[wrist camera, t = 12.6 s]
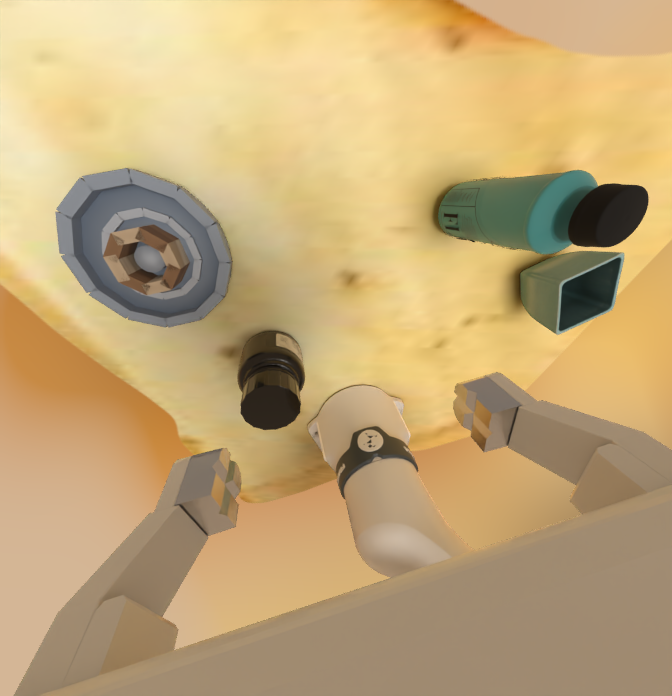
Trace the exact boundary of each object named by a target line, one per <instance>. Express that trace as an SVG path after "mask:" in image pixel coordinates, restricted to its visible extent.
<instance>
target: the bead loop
mask: <svg viewBox="0 0 672 696" xmlns="http://www.w3.org/2000/svg"><path fill="white" fill-rule="evenodd" d="M139 241H141V242H143V243H145V244H147V245H149V246H151V247H152V248H154V249H156V250H158V251H159V252H160V254H161V256H162V258H163V260H164V262H165V264H166V266H167V268H166V270H165V273H164V275H159V276H158V275H156V274H154V273H152V272H147V271H145V270H143V269H142V268H140V267H139V266H138V264H137V263H136V261H135V258H134V253H135V251H136V248H137V245H138V242H139ZM103 258H104V260H105V261H106V263H107V264H108V266H109V268H110V269H111V271H112V272H113V274H114V276H115V277H116V279H117V280H118V282H119V283H121V284H123V285H125V286H127V287H130V288H132V289H134V290H136V291H138V292H141V293H143V294H145V295H151V294H155V293H160V292H164V291H169V290H172V289H173V288H174V287H175V286H177V285H178V284H179V283H180V282H181V281H182V279H183V277H184V275H185V273H186V270H187V268H188V266H189V264H190V261H189V259H188V257H187V255H186V252H185V250H184V248H183V246H182V244H181V242H180V239H179V238H177V237H175V236H173V235H172V234H170V233H168V232H166V231H164V230H163V229H161V228H159V227H157V226H156V225H154V224H152V225H147V226H142V227H137V228H132V229H127V230H122V231H117V232H112V233H110V236H109V239H108V242H107V246H106V249H105V252H104V255H103Z"/></svg>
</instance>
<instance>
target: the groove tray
mask: <svg viewBox="0 0 672 696" xmlns="http://www.w3.org/2000/svg"><path fill="white" fill-rule="evenodd" d="M82 177H83V178H79V179H78V181H77V182H76V183H75V185H74V186H73V187H72V189H71V190H70V191H69V193H68V194H67V195H66V197H65V198H64V199H63V201H62V202H61V203H60V205H59V206H58V207H57V210H58V211H59V212H56V222H57V232H58V242H59V252H60V253H61V254H65V255H63V256H61V257H62V259H63V260H64V261H65V263H66V264H67V266H68V267H69V268H70V270H71V271H72V273H73V274H74V276H75V277H76V278H77V280H78V281H79V283H80V284H81V286H82V287H83V288H84V290H85V291H86V293H88V292H91V293H90V294H89V295H90V296H91V297H93V298H94V299H96V300H98V301H99V302H101V303H102V304H104V305H105V306H107V307H108V308H110V309H112V310H113V311H115V312H116V313H118V314H119V315H121V316H122V317H124V318H127V317H128V320H133V321H138V322H142V323H147V324H152V325H157V326H162V327H167V326H168V327H172V326H177V325H181V324H185V323H190V322H194V321H198V320H201V319H203V318H204V317H205V316H206V315H207V314H208V313H209V312H210V311H211V310H212V309H213V308H214V307H215V306H216V305H217V304H218V303H219V302H220V301H221V300H222V299H223V298H224V297H225V295H226V293H227V289H228V284H229V280H230V276H231V269H232V261H231V260H232V257H231V253H230V248H229V245H228V242H227V239H226V237H225V235H224V232H223V230H222V229H221V227H220V225H219V223H218V222H217V220H216V219H215V218H214V216H213V215H212V214H211V212H210V211H209V210H208V209H207V208H206V207H205V206H204V205H203V204H202V203H201V202H200V201H199V200H198V199H197V198H195V197H194V196H193V195H191V194H190V193H189V192H188V191H187V190H186V189H185V188H182V187H181V186H179V185H176V184H173V183H171V182H169V181H166V180H164V179H161V178H158V177H155V176H152V175H149V174H146V173H143V172H141V171H138V170H134V169H128V168H125V169H119V170H114V171H108V172H103V173H97V174H92V175H86V176H82ZM152 224H154V225H156V226H157V227H159V228H161V229H163V230H164V231H166V232H168V233H170V234H172V235H173V236H175V237H177V238H179V239H180V242H181V244H182V246H183V248H184V250H185V252H186V255H187V257H188V259H189V261H190V264H189V266H188V268H187V270H186V273H185V275H184V277H183V279H182V281H181V282H180V283H179V284H178V285H177V286H175V287H174V288H173V289H172V290H169V291H164V292H160V293H155V294H151V295H145V294H143V293H141V292H138V291H136V290H134V289H132V288H130V287H127V286H125V285H123V284H121V283H119V282H118V280H117V279H116V277H115V276H114V274H113V272H112V271H111V269H110V268H109V266H108V264H107V263H106V261H105V260H104V258H103V255H104V252H105V249H106V246H107V242H108V239H109V236H110V233H112V232H117V231H122V230H127V229H132V228H137V227H142V226H147V225H152ZM134 258H135V261H136V263H137V264H138V266H139V267H140V268H142V269H143V270H145V271H147V272H152V273H154V274H156V275H158V276H159V275H164V273H165V270H166V268H167V266H166V264H165V262H164V260H163V258H162V256H161V254H160V252H159V251H158V250H156V249H154V248H152V247H151V246H149V245H147V244H145V243H143V242H141V241H139V242H138V245H137V248H136V251H135V253H134Z"/></svg>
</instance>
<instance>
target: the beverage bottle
mask: <svg viewBox="0 0 672 696" xmlns="http://www.w3.org/2000/svg"><path fill="white" fill-rule="evenodd" d="M502 177H503V176H502ZM512 177H513V176H512ZM495 178H496V179H493V178H492V179H489V180H487V179H486V178H485V179H486V180H485V179H482V180H481V181H478V180H477V179H476V181H474V180H473V181H471V182H463V183H460V184H458V185H456V186H455V187H453V188H452V189H451V190H450V191H449V192H448V193H447V194H446V195H445V197H444V198H443V200H442V202H441V205H440V208H439V213H438V220H439V224H440V227H441V228H442V230H443V231H444V233H445V234H446V233H447V234H448V235H449V237H450V236H454V237H456V238H457V237H459V238H457V239H462V240H467V239H468V240H470V241H472V242H475V241H479V242H484V244H486V243H489V244H492V245H493V244H495V245H498V246H499V245H500V246H501V247H502V246H505V247H510V248H509V249H511V248H512V250H513V248H516V249H522V250H528V251H533V252H536V253H539V254H552V253H556V252H559V251H561V250H563V249H565V248H566V247H568V246H570V245H571V244H572V243H573V244H574V245H577V246H583V247H590V246H592V247H611V246H614V245H617V244H619V243H620V242H622V241H623V240H625V239H626V238H627V237H628V236H630V235H631V234H632V233H633V232H634V230H635V229H636V228H637V227H638V225H639V224H640V222H641V221H642V219H643V217H644V215H645V213H646V210H647V206H648V193H647V191H646V189H645V188H643V187H642V186H638V185H621V184H604V185H600V186H598V185H597V182H596V180H595V179H594V177H593V176H592V175H591V174H589V173H587V172H586V171H582V170H574V171H568V172H565V173H555V174H545V175H536V176H526V177H516V178H505V177H504V178H500V177H499V178H500V179H497V177H495ZM466 181H467V180H466ZM447 234H446V235H447ZM463 238H464V239H463ZM505 247H504V248H505ZM502 248H503V247H502ZM506 249H508V248H506ZM516 249H514V250H516Z"/></svg>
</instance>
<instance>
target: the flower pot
mask: <svg viewBox="0 0 672 696" xmlns="http://www.w3.org/2000/svg"><path fill="white" fill-rule="evenodd" d="M623 261H624V253H617V252H596V251H579V252H571V253H566V254H562V255H558V256H555V257H552V258H549V259H547V260H545V261H543V262H540V263H538V264H536V265H534V266H532V267H530V268H528V269H526V270H524V271H522V272H521V273H520V291H521V300H522V303H523V305H524V307H525V309H526V311H527V312H528V313H529V314H530V316H531V317H532V318H534V319H535V320H536V321H538V322H539V323H541V324H542V325H543V326H545V327H546V328H548V329H549V330H551V331H552V332H554V333H555V334H557V335H559V334H561V333H564V332H566V331H568V330H570V329H572V328H574V327H576V326H579V325H581V324H583V323H585V322H588V321H589V320H592V319H594V318H596V317H598V316H600V315H603V314H605V313H607V312H609V311H610V310H612V309H613V307H614V304H615V300H616V294H617V288H618V284H619V279H620V274H621V271H622V266H623Z"/></svg>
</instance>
